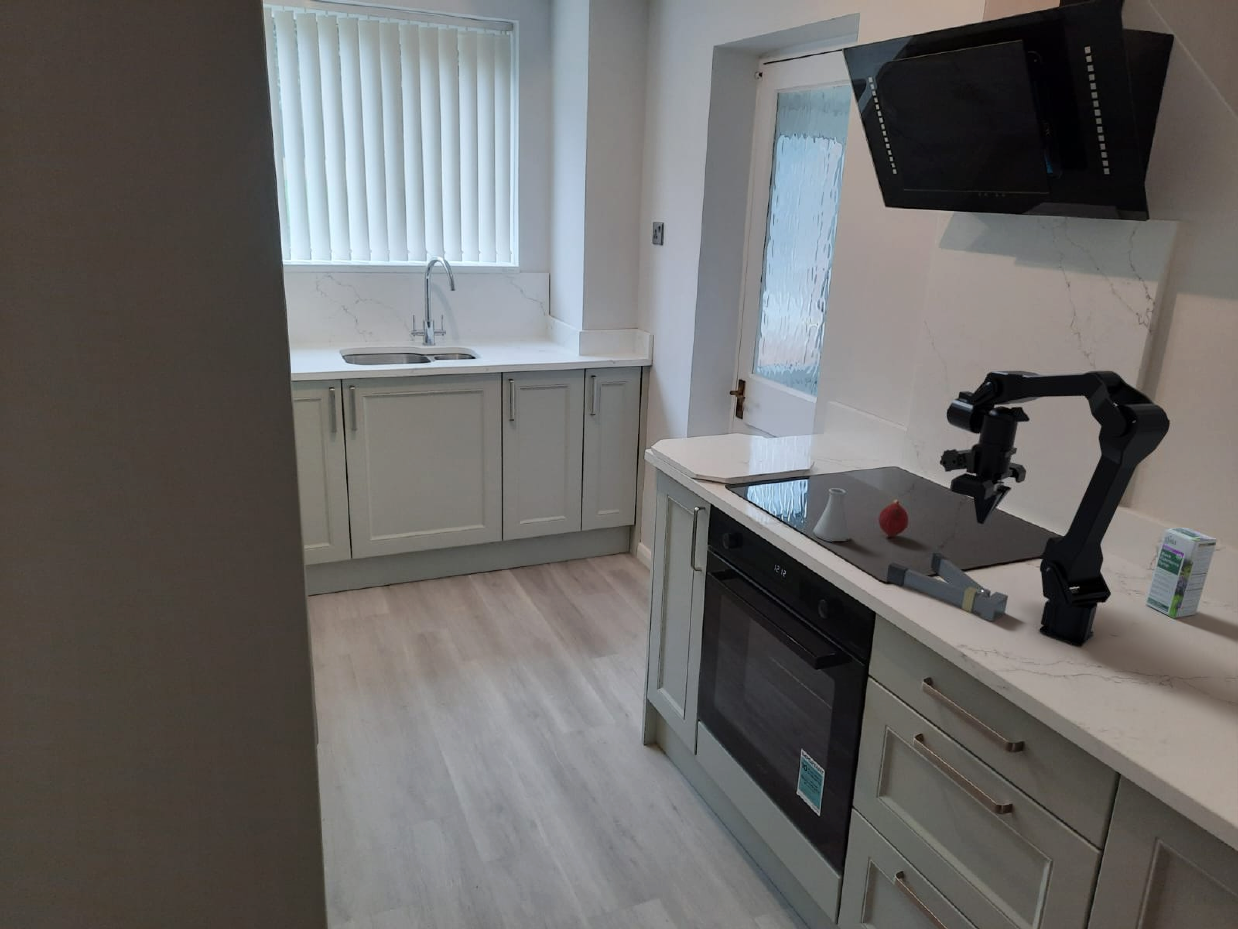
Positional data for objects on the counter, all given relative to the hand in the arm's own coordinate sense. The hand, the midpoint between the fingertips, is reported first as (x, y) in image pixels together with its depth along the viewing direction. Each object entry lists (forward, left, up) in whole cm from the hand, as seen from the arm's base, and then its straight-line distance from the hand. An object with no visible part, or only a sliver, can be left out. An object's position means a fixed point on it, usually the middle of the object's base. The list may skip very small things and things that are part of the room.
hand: (980, 523), depth 155 cm
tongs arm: (-1, +6, -11) cm, 13 cm away
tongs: (0, +12, -11) cm, 16 cm away
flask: (+28, +3, -11) cm, 30 cm away
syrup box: (-29, -16, -11) cm, 35 cm away
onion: (+20, -7, -11) cm, 24 cm away
